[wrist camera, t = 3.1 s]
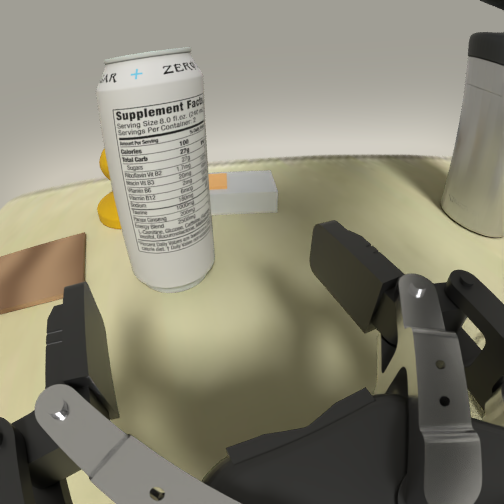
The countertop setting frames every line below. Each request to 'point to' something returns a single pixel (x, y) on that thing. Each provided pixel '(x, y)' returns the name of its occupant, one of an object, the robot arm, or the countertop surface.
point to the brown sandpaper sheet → (41, 272)
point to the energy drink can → (159, 165)
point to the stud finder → (242, 192)
